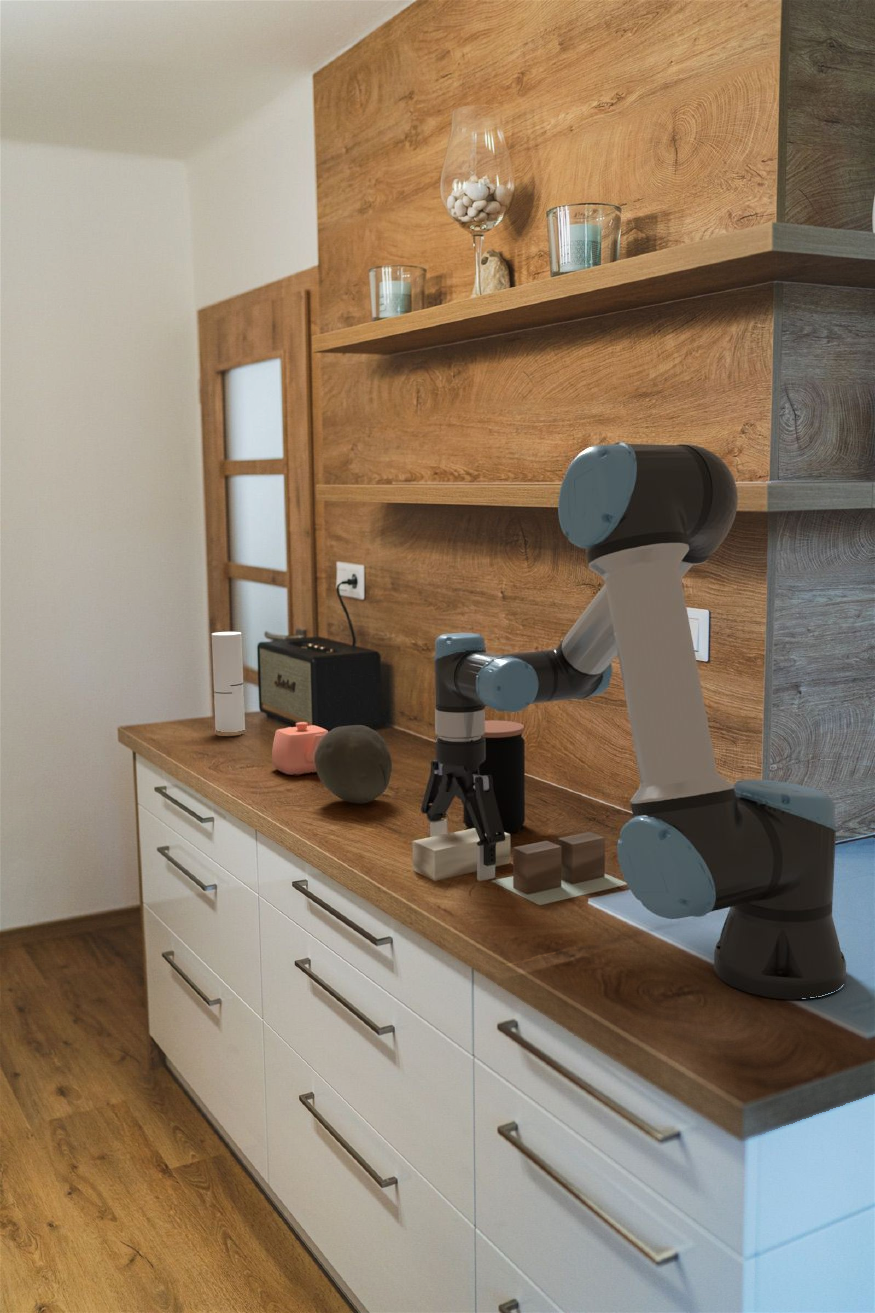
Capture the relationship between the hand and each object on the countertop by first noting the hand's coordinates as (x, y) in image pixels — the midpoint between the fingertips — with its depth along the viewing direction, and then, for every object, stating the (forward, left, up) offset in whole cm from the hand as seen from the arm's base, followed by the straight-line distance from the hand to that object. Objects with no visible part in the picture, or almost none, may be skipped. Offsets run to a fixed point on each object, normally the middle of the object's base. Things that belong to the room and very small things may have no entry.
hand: (461, 873), depth 176 cm
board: (-14, -8, 0) cm, 16 cm away
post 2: (-14, -12, +1) cm, 19 cm away
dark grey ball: (+46, -5, 0) cm, 46 cm away
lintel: (0, 0, 0) cm, 0 cm away
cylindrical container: (+121, -9, 0) cm, 121 cm away
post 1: (-14, -4, +1) cm, 15 cm away
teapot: (+75, -8, 0) cm, 75 cm away
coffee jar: (+18, -18, 0) cm, 25 cm away
